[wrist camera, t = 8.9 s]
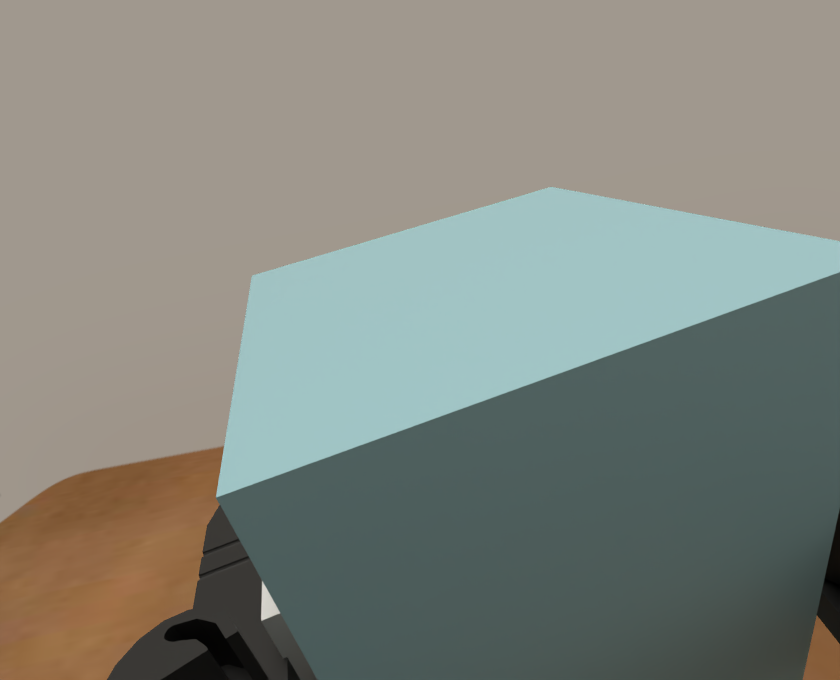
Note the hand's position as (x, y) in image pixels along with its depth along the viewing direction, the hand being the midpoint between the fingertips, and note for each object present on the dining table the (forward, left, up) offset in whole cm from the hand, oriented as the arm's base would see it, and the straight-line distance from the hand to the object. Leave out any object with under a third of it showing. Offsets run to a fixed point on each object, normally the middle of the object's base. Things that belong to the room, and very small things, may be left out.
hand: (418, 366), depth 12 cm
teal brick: (+3, -5, -6) cm, 8 cm away
